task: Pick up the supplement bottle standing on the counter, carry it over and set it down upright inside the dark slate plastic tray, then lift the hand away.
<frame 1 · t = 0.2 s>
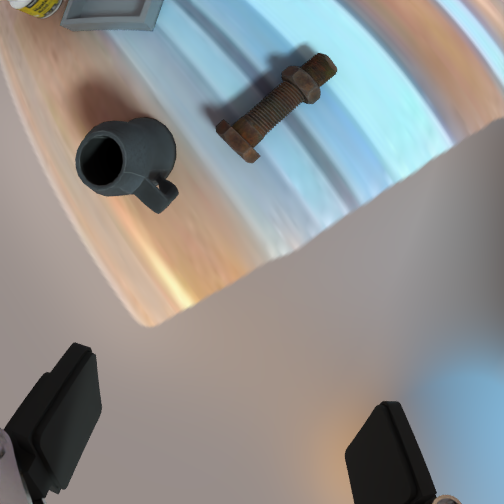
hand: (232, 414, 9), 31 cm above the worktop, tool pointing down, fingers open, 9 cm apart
supplement bottle: (50, 4, 28), on the worktop
mug: (149, 161, 37), on the worktop
bolt: (280, 104, 35), on the worktop
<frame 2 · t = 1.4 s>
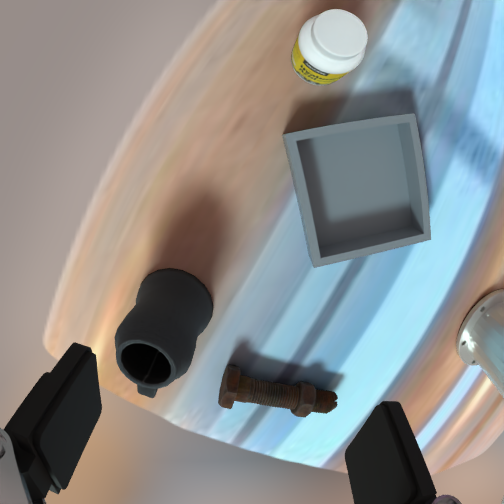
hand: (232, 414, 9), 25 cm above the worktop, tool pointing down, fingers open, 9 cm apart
supplement bottle: (317, 62, 27), on the worktop
mug: (172, 313, 37), on the worktop
bolt: (279, 383, 40), on the worktop
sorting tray: (356, 184, 31), on the worktop
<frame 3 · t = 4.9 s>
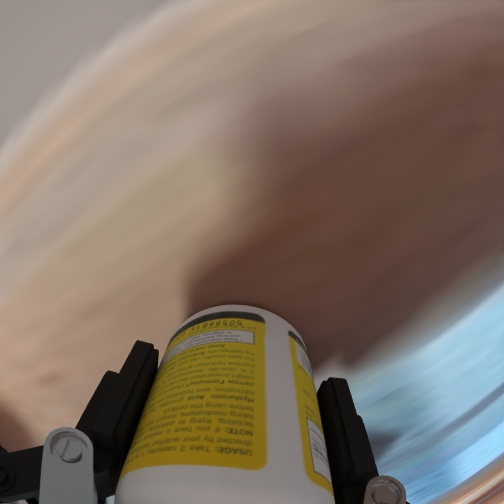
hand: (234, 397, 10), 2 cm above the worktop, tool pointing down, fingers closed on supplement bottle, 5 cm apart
supplement bottle: (238, 357, 12), on the worktop, touching gripper
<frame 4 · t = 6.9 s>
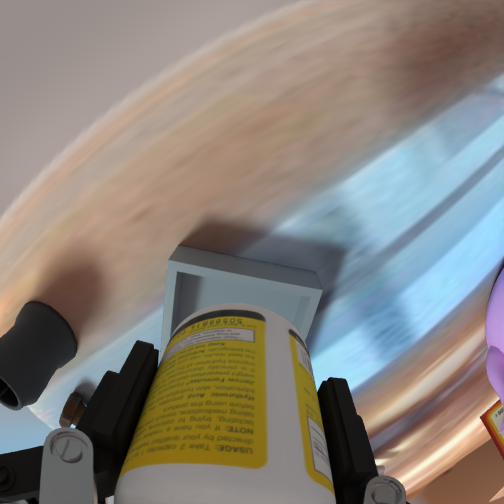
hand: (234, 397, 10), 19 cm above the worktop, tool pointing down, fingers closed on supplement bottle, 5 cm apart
supplement bottle: (238, 356, 12), point 17 cm above the worktop, touching gripper
mug: (44, 338, 33), on the worktop
baking soda box: (503, 403, 38), on the worktop
bolt: (118, 420, 38), on the worktop
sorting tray: (234, 317, 31), on the worktop
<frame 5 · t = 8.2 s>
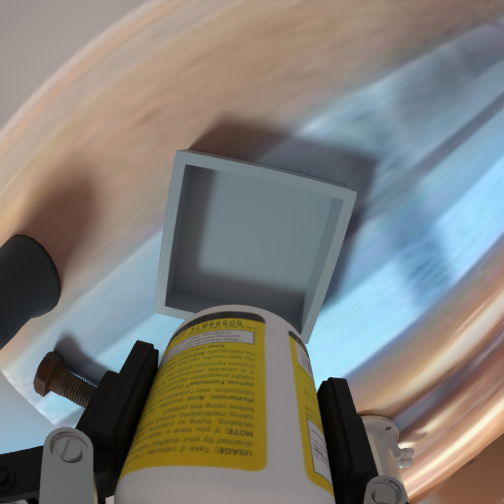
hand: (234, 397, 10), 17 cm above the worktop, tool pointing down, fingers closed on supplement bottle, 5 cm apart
supplement bottle: (238, 357, 12), point 15 cm above the worktop, touching gripper
mug: (25, 283, 28), on the worktop
bolt: (104, 387, 33), on the worktop
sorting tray: (249, 241, 26), on the worktop
when the fingers open (4 cm above the worktop, at t = 10.7 s): supplement bottle drops 2 cm, resting on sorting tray.
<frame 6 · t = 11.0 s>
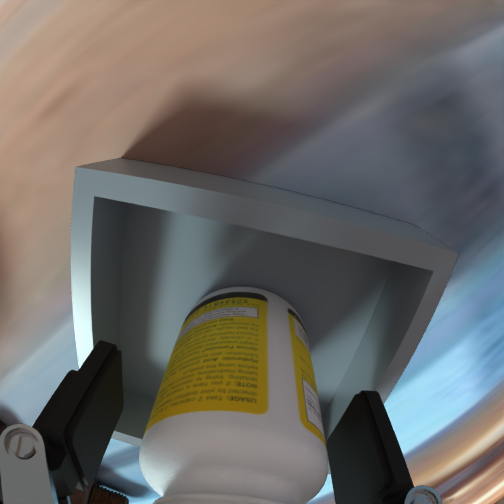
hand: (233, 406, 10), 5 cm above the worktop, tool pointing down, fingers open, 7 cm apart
supplement bottle: (244, 334, 14), resting on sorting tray
bolt: (60, 461, 21), on the worktop
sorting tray: (240, 326, 14), on the worktop
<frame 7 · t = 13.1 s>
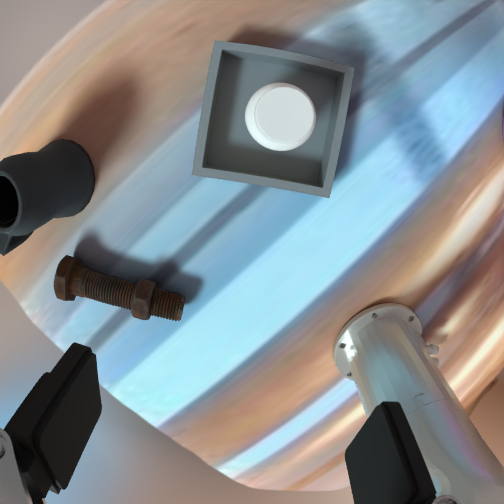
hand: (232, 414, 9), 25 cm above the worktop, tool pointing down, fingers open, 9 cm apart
supplement bottle: (273, 120, 29), resting on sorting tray
mug: (57, 188, 31), on the worktop
bolt: (126, 283, 36), on the worktop
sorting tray: (271, 118, 29), on the worktop
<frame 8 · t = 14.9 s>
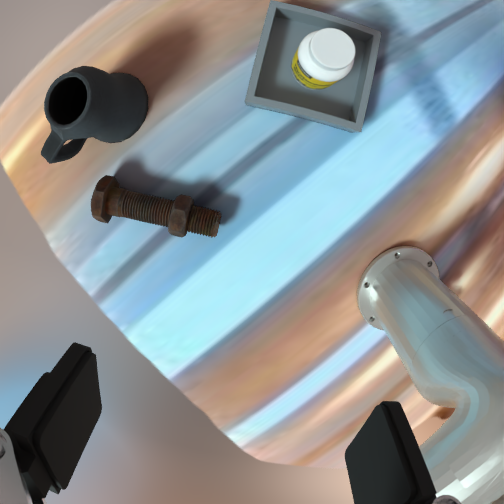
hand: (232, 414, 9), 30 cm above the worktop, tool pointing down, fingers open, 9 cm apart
supplement bottle: (313, 69, 32), resting on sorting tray
mug: (108, 116, 34), on the worktop
bolt: (162, 207, 38), on the worktop
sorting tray: (311, 68, 32), on the worktop
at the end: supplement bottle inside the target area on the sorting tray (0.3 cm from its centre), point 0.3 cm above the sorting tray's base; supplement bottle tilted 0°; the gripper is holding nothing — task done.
